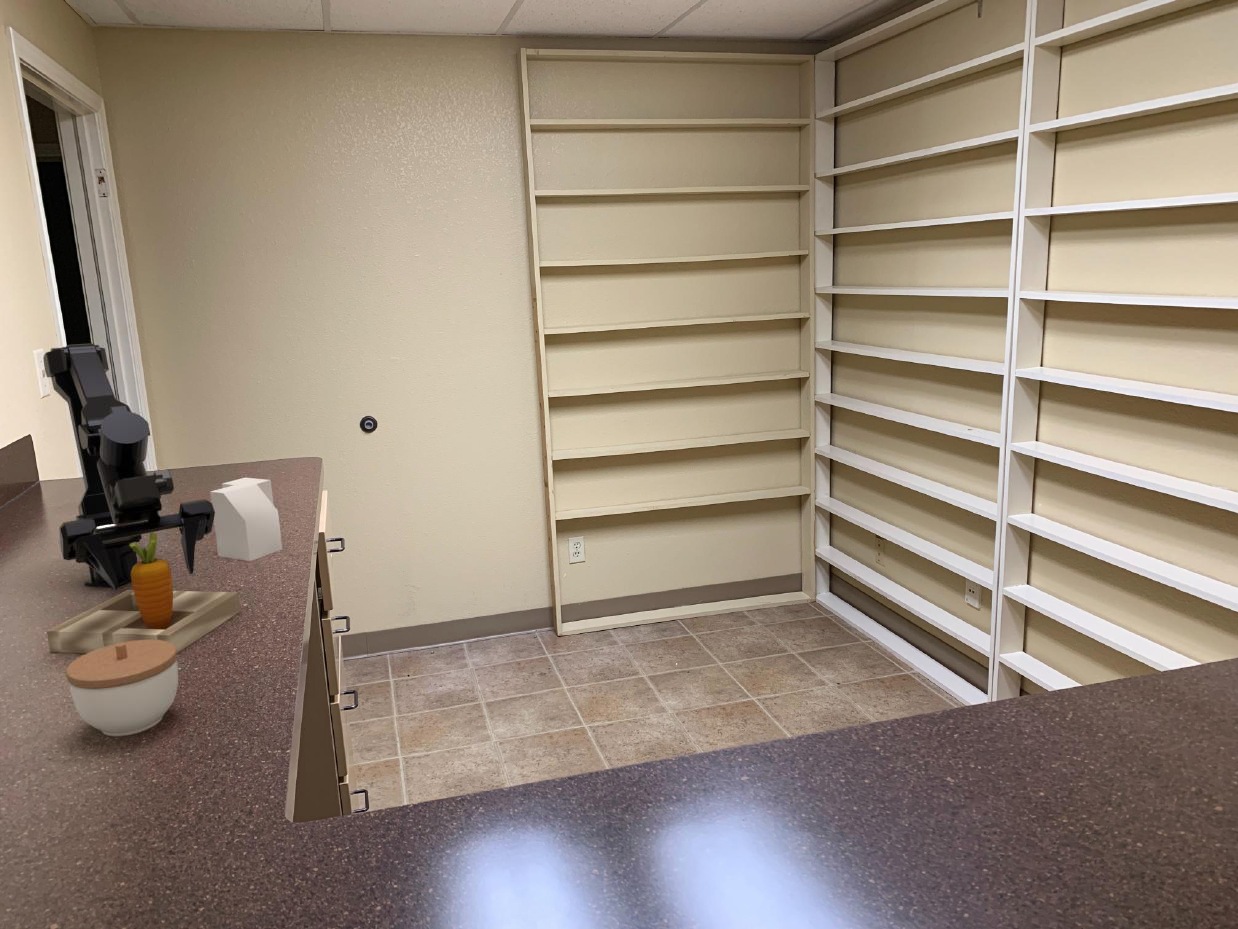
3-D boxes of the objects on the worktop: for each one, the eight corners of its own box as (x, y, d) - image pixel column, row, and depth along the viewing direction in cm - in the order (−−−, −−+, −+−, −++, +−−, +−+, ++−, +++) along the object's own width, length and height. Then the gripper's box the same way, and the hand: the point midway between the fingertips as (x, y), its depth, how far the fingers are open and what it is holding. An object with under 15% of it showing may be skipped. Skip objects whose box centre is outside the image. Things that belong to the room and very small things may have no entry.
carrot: (147, 650, 120) (130, 543, 116) (136, 640, 123) (119, 536, 120) (186, 639, 123) (170, 534, 120) (174, 629, 126) (159, 528, 123)
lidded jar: (83, 713, 102) (70, 636, 101) (186, 693, 107) (175, 619, 105) (70, 757, 93) (56, 673, 91) (184, 733, 97) (172, 652, 95)
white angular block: (252, 538, 171) (245, 477, 169) (296, 544, 166) (289, 481, 164) (205, 554, 162) (197, 490, 160) (250, 561, 157) (242, 495, 155)
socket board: (50, 652, 120) (46, 631, 119) (130, 608, 136) (128, 589, 135) (172, 656, 117) (168, 635, 117) (240, 611, 133) (237, 592, 132)
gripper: (48, 463, 115) (74, 565, 109) (202, 443, 126) (234, 534, 120) (50, 511, 123) (75, 608, 116) (195, 488, 134) (225, 576, 128)
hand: (155, 580), depth 120 cm, fingers open, 9 cm apart
